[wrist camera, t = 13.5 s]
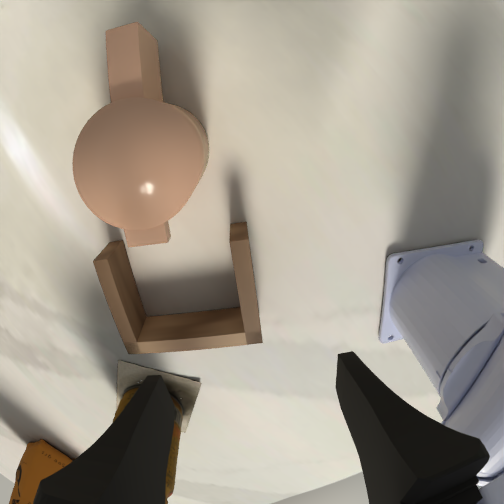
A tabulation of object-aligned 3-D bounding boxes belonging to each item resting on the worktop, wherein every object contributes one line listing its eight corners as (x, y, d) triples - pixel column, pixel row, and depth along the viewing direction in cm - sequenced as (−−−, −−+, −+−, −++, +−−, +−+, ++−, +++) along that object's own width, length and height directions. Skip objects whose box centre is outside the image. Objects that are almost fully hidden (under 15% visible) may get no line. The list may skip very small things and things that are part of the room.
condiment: (116, 413, 27) (90, 513, 16) (118, 358, 24) (76, 479, 13) (185, 430, 28) (176, 533, 17) (201, 380, 25) (192, 508, 14)
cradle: (246, 221, 20) (248, 239, 17) (259, 316, 23) (262, 342, 20) (109, 242, 20) (92, 261, 17) (138, 328, 23) (128, 354, 20)
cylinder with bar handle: (216, 206, 19) (210, 238, 14) (125, 218, 19) (92, 252, 14) (197, 37, 15) (182, 6, 10) (102, 58, 15) (59, 42, 10)
